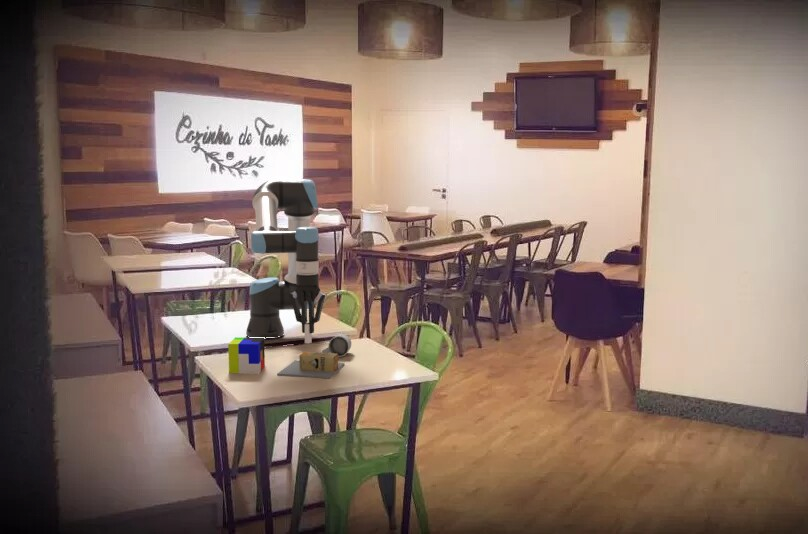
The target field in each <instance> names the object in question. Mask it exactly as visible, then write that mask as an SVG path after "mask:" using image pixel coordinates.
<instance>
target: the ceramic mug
mask: <svg viewBox="0 0 808 534" xmlns="http://www.w3.org/2000/svg"><path fill="white" fill-rule="evenodd" d="M327 346H328V347H326V348H324V349H322V350H321V353H334V354H338V358H341V357H345V356H346V355H347V354H348V353H349V351H350V350H351V348H352V340H351V338H350V337H349V336H348V335H347V334H343V333H339V334H336V335H335V336H333V337H332V338H331V339H329V343H328V345H327Z"/></svg>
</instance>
